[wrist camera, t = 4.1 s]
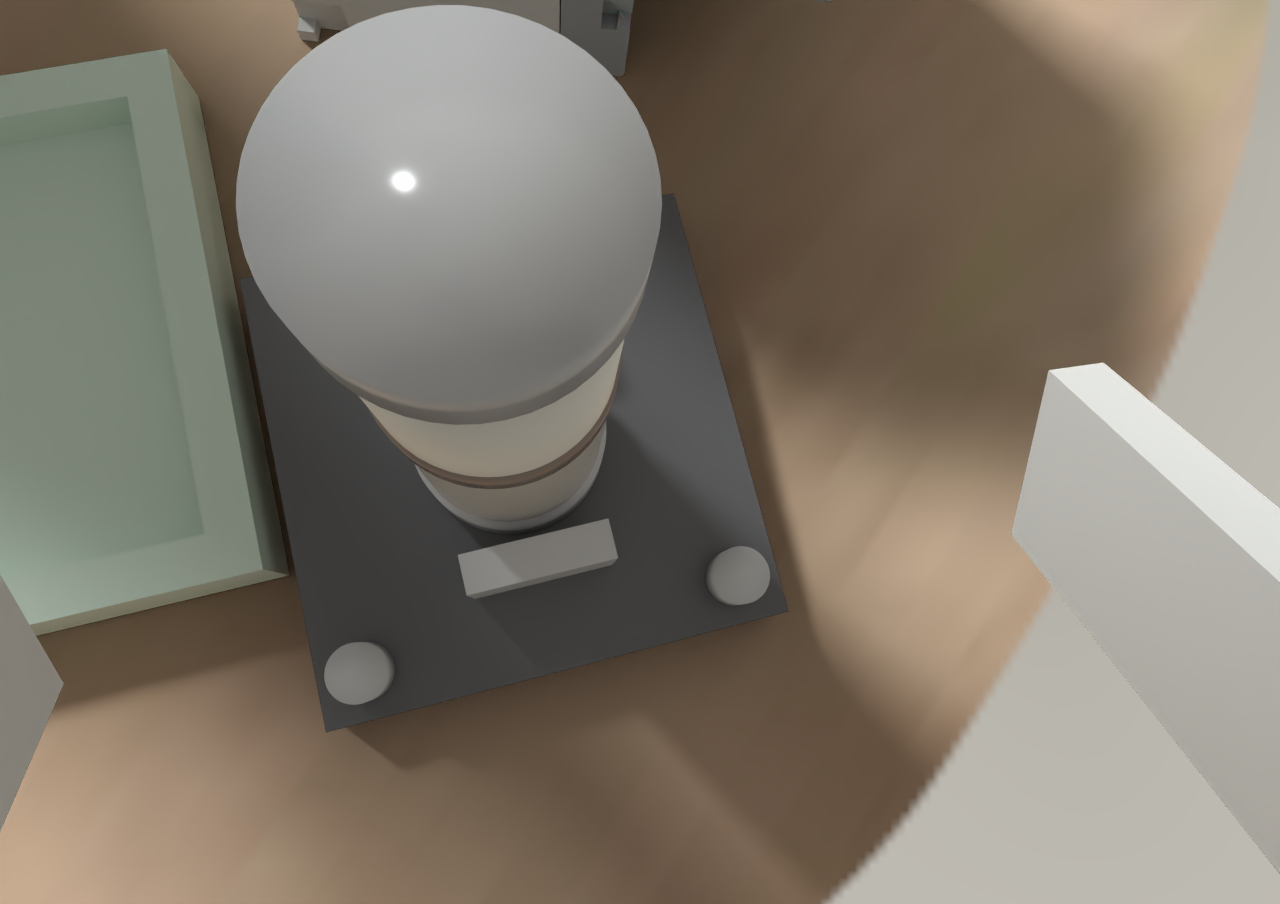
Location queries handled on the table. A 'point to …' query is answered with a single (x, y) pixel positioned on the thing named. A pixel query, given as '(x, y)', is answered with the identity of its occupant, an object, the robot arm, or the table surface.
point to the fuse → (460, 245)
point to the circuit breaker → (566, 3)
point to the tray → (121, 353)
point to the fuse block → (520, 563)
